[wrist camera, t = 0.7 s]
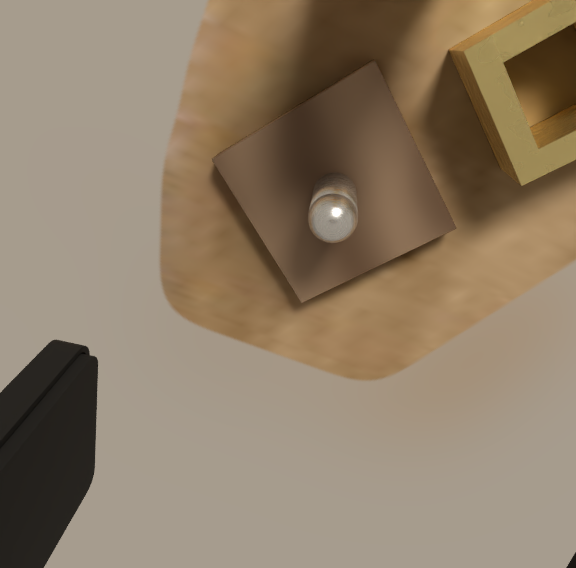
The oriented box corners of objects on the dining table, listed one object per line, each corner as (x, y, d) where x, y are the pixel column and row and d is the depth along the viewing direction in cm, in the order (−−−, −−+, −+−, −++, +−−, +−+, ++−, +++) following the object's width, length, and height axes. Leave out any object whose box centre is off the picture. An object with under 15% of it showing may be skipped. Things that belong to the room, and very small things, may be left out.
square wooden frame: (586, -32, 26) (626, -43, 22) (631, 102, 28) (674, 111, 24) (448, 49, 28) (463, 51, 24) (500, 168, 30) (521, 186, 26)
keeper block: (373, 59, 28) (381, 65, 22) (451, 219, 31) (479, 266, 25) (217, 154, 31) (183, 184, 25) (303, 292, 34) (293, 351, 28)
